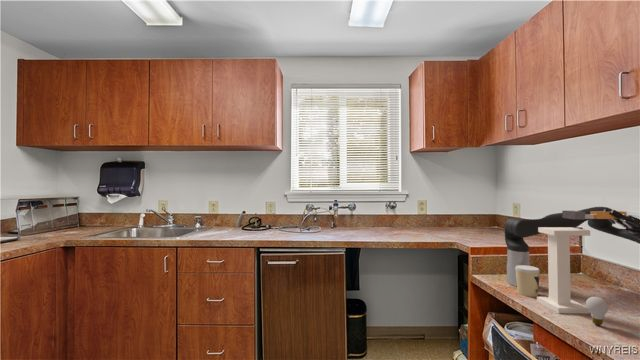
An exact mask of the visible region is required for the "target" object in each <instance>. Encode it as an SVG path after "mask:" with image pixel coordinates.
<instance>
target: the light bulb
mask: <svg viewBox="0 0 640 360" xmlns="http://www.w3.org/2000/svg"><path fill="white" fill-rule="evenodd" d="M585 306H586V307H587V308H588V309H589V311H590V315H591V318H592V319H591V320H592V323H593V324H594V325H595V326H597V325H598V327H599V326H602V325H603V322H604V321H603V320H604V317H605V315H606V314H607V312H608V311H609V309H610V308H609V304H608V303H607V302H606V300H604V298H601V297H600V296H591V297H588V298H587V299H586V301H585Z"/></svg>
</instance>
